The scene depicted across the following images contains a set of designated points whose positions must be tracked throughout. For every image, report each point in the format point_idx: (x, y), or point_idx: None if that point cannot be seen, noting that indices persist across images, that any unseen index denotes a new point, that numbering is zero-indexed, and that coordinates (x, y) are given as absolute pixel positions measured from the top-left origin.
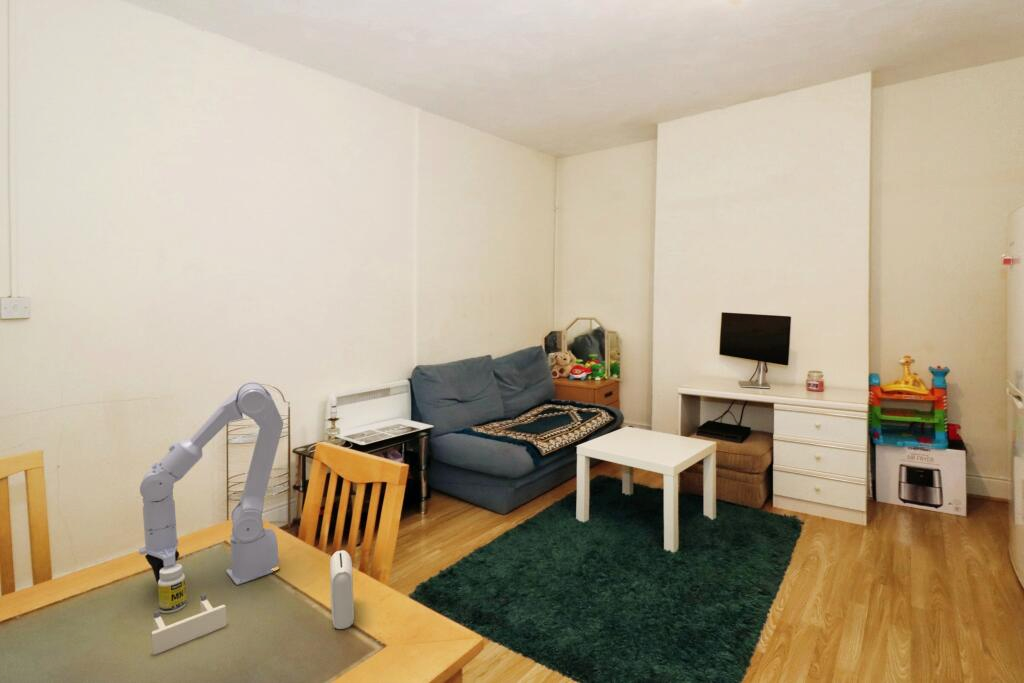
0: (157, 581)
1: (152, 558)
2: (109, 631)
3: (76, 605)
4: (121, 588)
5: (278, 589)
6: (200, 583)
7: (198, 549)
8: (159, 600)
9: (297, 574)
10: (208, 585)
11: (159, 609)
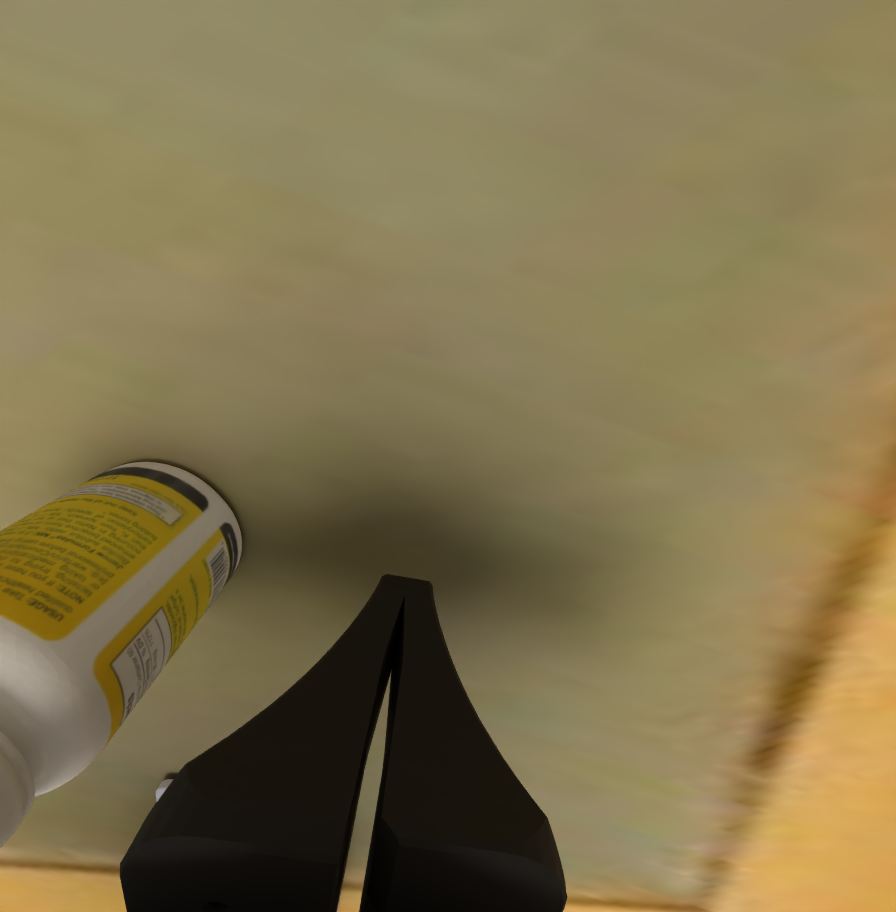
0: (365, 605)
1: (249, 892)
2: (115, 108)
3: (868, 49)
4: (753, 423)
5: None
6: None
7: (755, 833)
8: (82, 501)
9: (90, 903)
10: None
11: (158, 466)
